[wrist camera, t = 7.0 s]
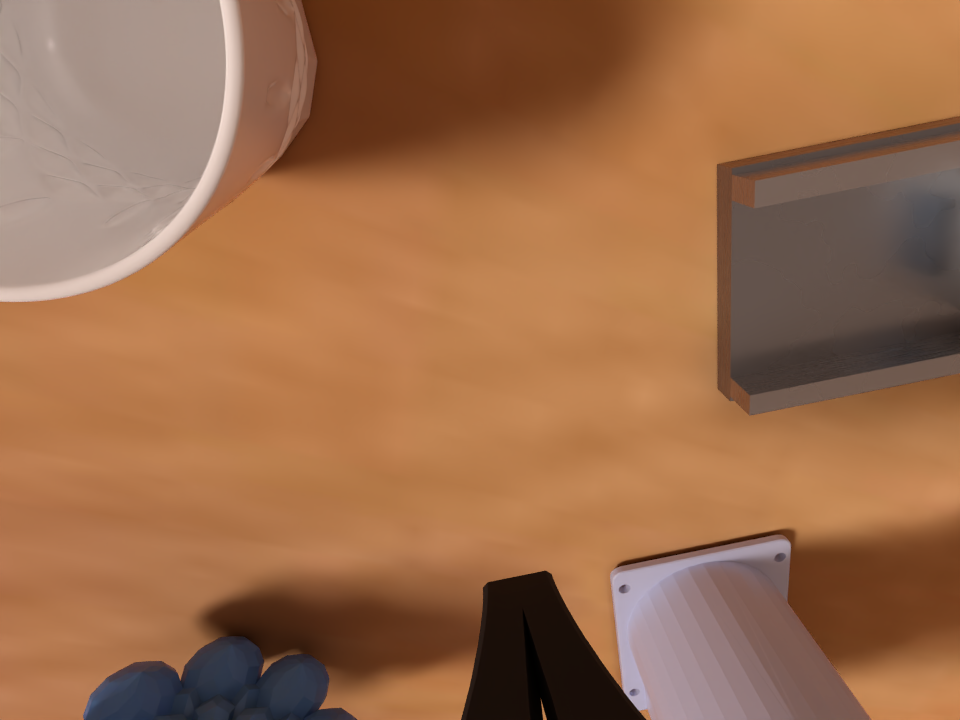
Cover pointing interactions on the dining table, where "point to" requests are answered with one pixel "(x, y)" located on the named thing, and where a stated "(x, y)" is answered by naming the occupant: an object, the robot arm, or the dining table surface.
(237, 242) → the dining table surface
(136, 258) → the white cup
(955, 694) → the dining table surface
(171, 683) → the grapes
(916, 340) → the module housing
